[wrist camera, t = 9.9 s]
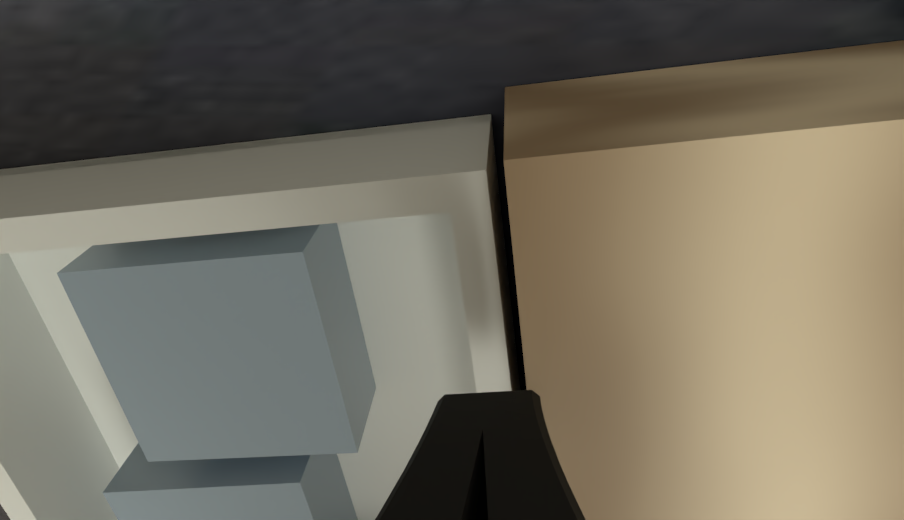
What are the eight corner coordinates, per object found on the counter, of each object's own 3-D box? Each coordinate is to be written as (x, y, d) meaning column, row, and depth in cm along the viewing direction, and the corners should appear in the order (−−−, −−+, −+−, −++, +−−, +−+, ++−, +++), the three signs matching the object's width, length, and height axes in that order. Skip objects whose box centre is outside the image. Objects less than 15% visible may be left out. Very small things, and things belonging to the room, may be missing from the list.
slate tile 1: (56, 273, 11) (118, 224, 13) (148, 461, 13) (190, 397, 15) (302, 251, 10) (332, 204, 12) (357, 452, 12) (376, 387, 14)
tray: (491, 114, 12) (485, 170, 9) (538, 561, 17) (544, 676, 15) (-38, 173, 13) (-176, 236, 10) (167, 568, 19) (111, 673, 16)
